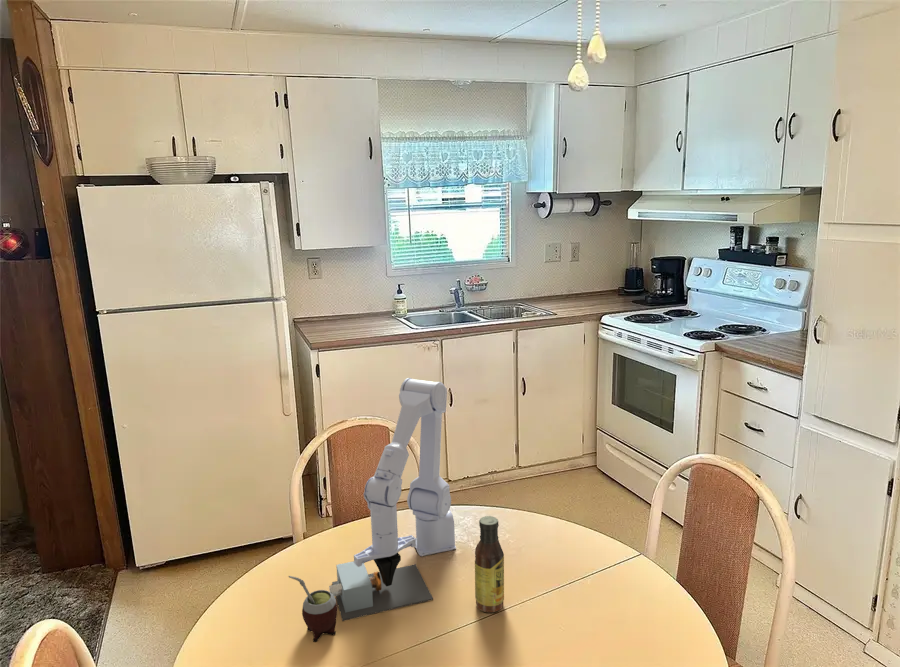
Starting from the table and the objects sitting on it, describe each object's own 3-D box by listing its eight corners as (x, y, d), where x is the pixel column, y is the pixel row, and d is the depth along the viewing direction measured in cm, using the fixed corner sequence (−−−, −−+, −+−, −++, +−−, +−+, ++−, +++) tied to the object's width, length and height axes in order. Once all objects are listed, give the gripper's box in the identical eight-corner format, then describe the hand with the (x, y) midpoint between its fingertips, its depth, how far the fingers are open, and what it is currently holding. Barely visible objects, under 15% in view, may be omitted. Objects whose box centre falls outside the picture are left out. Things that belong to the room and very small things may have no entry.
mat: (415, 565, 152) (415, 564, 152) (433, 599, 139) (433, 598, 139) (332, 583, 146) (332, 582, 146) (342, 621, 133) (342, 619, 133)
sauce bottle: (502, 616, 133) (501, 530, 129) (473, 612, 135) (471, 527, 130) (505, 596, 140) (505, 514, 135) (477, 594, 141) (476, 512, 137)
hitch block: (363, 581, 146) (362, 559, 145) (373, 607, 137) (371, 584, 136) (337, 587, 144) (336, 564, 143) (345, 614, 135) (343, 590, 134)
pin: (377, 583, 144) (377, 568, 143) (381, 593, 140) (381, 577, 140) (329, 594, 141) (328, 578, 140) (332, 605, 137) (330, 588, 136)
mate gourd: (344, 623, 132) (340, 559, 129) (327, 649, 125) (322, 581, 122) (312, 618, 134) (307, 554, 131) (293, 643, 127) (287, 576, 124)
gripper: (404, 511, 147) (406, 564, 150) (346, 530, 139) (350, 585, 142) (419, 524, 141) (421, 579, 144) (360, 545, 133) (363, 602, 136)
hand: (387, 583), depth 143 cm, fingers closed
